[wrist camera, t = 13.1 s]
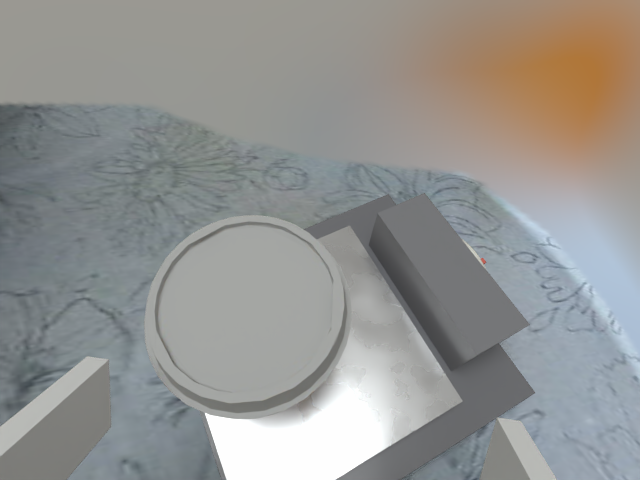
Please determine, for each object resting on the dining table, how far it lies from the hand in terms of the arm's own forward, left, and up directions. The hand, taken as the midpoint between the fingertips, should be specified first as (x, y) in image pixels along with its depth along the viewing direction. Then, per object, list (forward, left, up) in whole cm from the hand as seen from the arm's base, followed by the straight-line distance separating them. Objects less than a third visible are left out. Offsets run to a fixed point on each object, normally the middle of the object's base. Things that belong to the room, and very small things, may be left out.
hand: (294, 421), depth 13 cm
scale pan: (-5, +3, -15) cm, 16 cm away
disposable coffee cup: (-6, 0, -14) cm, 15 cm away
